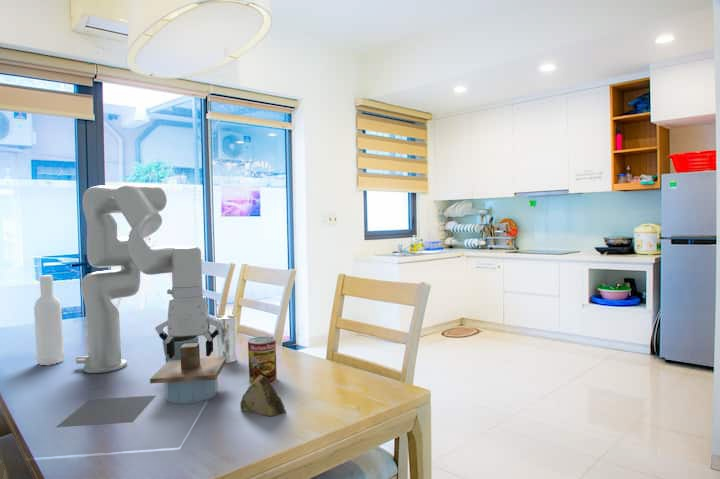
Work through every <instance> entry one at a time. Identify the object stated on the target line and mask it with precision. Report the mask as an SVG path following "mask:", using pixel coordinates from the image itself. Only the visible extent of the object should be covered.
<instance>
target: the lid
mask: <svg viewBox="0 0 720 479" xmlns="http://www.w3.org/2000/svg"><path fill="white" fill-rule="evenodd" d="M180 356H181V360H169V361H168V362H167V363H166V362H165V363H164V364H163V365H162V366H161V367H160V368H159V369H158V370H157V371H156V372H155V373H154V374H153V375H152V376H151V377H150V378H149V384H165V383H167V382H184V381H202V380H216V378H218V377H219V374H220V373H221V371H222V369H223V368H224V367H225V365H226V364H225V363H226V357H220V358H218V357H206V358H205V357H204V358H201V355H200V343H199V342H198V343H188V344H183V345H182V346H181V347H180Z"/></svg>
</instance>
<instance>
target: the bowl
mask: <svg viewBox="0 0 720 479" xmlns="http://www.w3.org/2000/svg"><path fill="white" fill-rule="evenodd" d="M218 383H219V382H218V377H217V378H216V380H202V381H184V382H167V383H164V396H165V399H166V401H167V402H170V403H172V404H190V403H197V402H198V403H199V402H202V401H205V400H206V401H208V400H211V399H213V398H215V396H217V394H218V389H219V385H218Z"/></svg>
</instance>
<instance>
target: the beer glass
mask: <svg viewBox="0 0 720 479" xmlns="http://www.w3.org/2000/svg"><path fill="white" fill-rule="evenodd" d="M215 320H216V321H219V322H221V323H222V324H223V325H222V327H221V329H220V331H219V333H218V334H217V335H216V337H215V338H216V343H217V347H218V356H217V358H220V357H226V363H225V365H226V364H227V365H228V364H233V363H235V362H237V355H236V343H237V334H238V324H237V316H236V315H234V314H224V315H222V314H221V315H218V316H215ZM215 329H216V327H215V326H214V330H215Z"/></svg>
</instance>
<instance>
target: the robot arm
mask: <svg viewBox="0 0 720 479" xmlns="http://www.w3.org/2000/svg"><path fill="white" fill-rule="evenodd" d="M81 200H82V201H81V202H82V210H83V211H82V212H83V213H84V217H85V220H86V221H85V222H86V226H87V227H86V228H87V229H86V260H87V262H88V264H89V266H91V267H94V268H110V267H120V269H112V270H111V269H108V270H101V271H100V270H99V271H94V272H90V273H88V274H86V275H84V276H83V277H82V279H81V281H80V289H81V290H80V291H81V293H82V298H83V302H84V307H85V308H84V309H85V319H86V320H85V322H86V336H87V337H86V338H87V339H86V340H87V355H85V356H84V355H80V356H79V355H77V356H76V357H75V362H76V364H84V365H83V367H82V369H83V372H84V373H88V374H100V373H101V374H103V373H108V372H113V371H117V370H120V369H122V368H125V367H126V366H127V365H128V361H127V359H124V358H122V345H121V343H122V342H121V341H122V340H121V325H120V322H121V320H120V312H119V309H118V308H117V307H116V305H114V303H113V302H112V301H111V300H116V299H121V298H123V299H124V298H129V297H133V296H134V295H136V294H137V293H138V292H139V290H140V286H141V273H143V274H145V275H149V276H150V275H151V276H152V275H153V276H154V275H160V274H161V275H162V274H168V273H169V274H171V279H172V280H171V281H172V284H171V285H172V286H171V288H167V290H166V294H167V295H171V298H169V302H168V310H167V320H165V321H163V322H162V323H160V324H158V325H157V326H155V328H154V329H155V332H157V334H158V336H159V338H160V339H161V340H162V341H163V340H164V341H165V343H166V344H167V354H169V358H172V357H173V356H174V355H175V343H174V341H173V338H174V337H185V336H200V337H202V336H203V337H204V338H205V339H206V341H205V356H206V357H210V356H211V354H212V353H213V352H214V339H215V338H216V335H217V334H218V333H219V331H220V329H221V327H222V325H223V324H222V323H221V322H219V321H216V319H214V318H211V317H210V315H209V309H208V301H207V298H206V296H204V294H203V293H204V290H203V268H202V250H201V248H200V247H198V246H194V245H192V246H189V245H188V246H186V245H181V244H180V245H179V244H175V245H173V244H172V245H157V246H149V245H148V244H147V242H146V240H145V238H147V237H149V236H151V235H153V234H154V233H156V232H157V231H158V230H159V229H160V227H161V226H162V224H163V218H162V216H161V214H160V213H159V212H162V211H163V210H164V209H165V208H166V206H167V195H166V192H165V190H163V188H161V187H160V186H158V185H156V184H148V183H146V184H142V183H126V184H122V185H119V186H118V185H96V186H91V187H89V188H87V189H86V190H85V191H84V193H83V196H82V199H81ZM112 214H122V215H123V217H124V218H125V220H126V221H127V223H128V225H129V227H130V228H131V230H130V231H129V234H128V236H120V237H118V224H117V221H116V219H115V218H114V216H113V215H112ZM210 325H212V326H214V331H213V332H211V331H210ZM215 327H216V329H215ZM164 328H167V333H166V332H165V330H164Z"/></svg>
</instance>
